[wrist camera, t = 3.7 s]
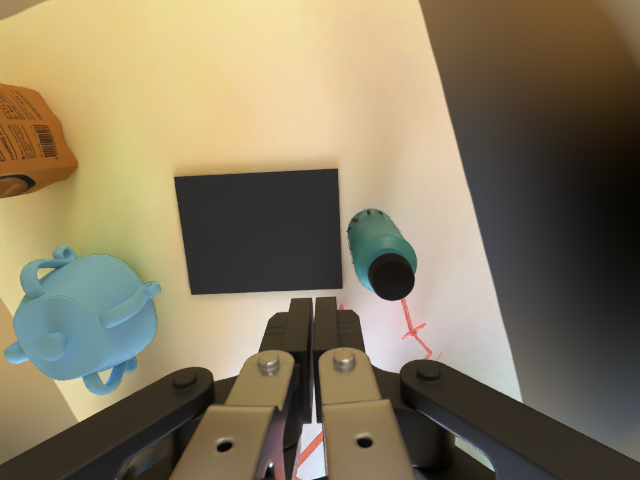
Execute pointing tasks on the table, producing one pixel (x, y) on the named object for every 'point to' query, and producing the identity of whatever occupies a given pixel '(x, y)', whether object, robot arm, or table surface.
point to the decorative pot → (83, 318)
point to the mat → (261, 231)
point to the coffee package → (30, 143)
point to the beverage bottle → (381, 255)
